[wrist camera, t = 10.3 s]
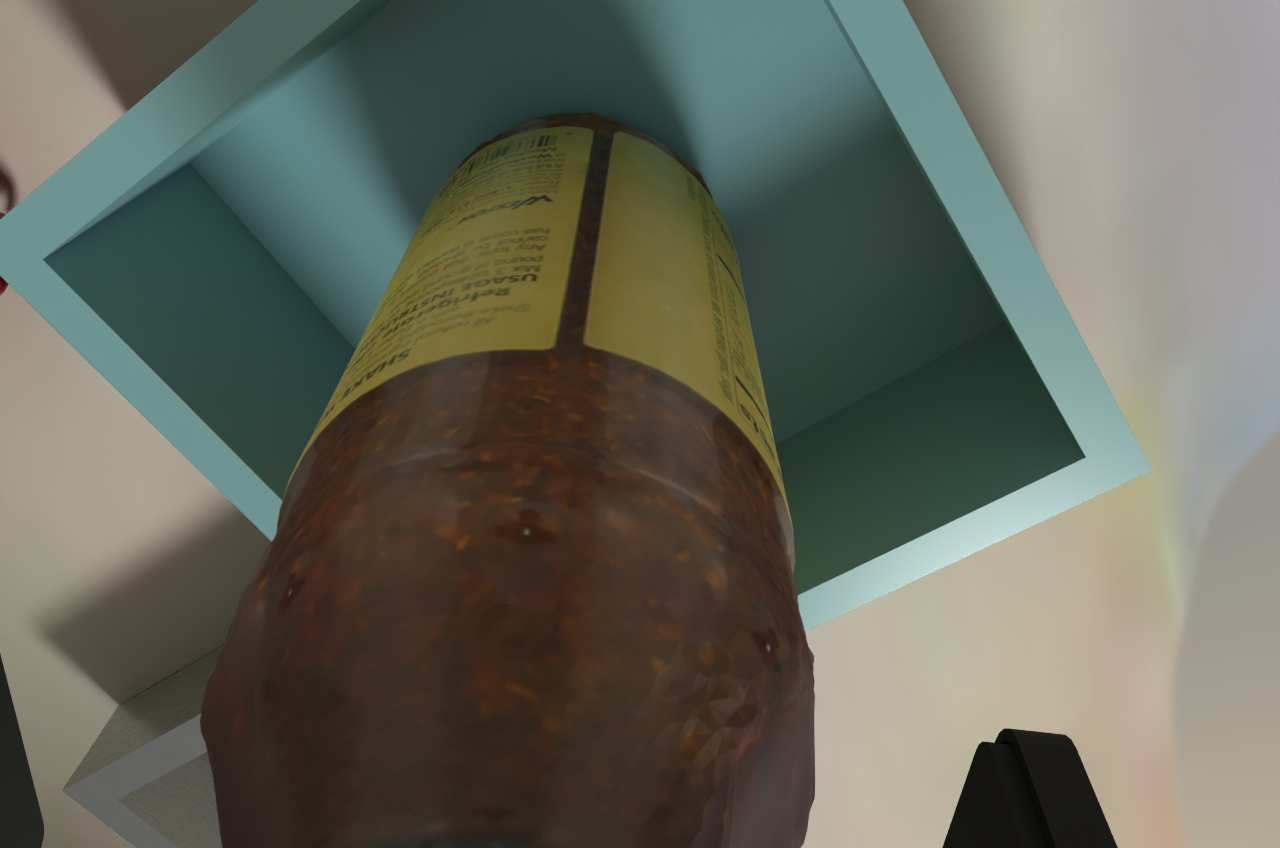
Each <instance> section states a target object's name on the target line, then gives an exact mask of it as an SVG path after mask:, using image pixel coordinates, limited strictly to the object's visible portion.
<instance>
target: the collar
mask: <svg viewBox="0 0 1280 848" xmlns="http://www.w3.org/2000/svg"><path fill="white" fill-rule="evenodd" d="M223 647H224V645H223V646H221V647H220V648H218V649H216V650H215V651H213V652H211V653H209V654H208V655H206V656H204V657H202V658H201V659H199V660H197V661H196V662H194V663H192V664H190V665H189V666H187V667H185V668H183V669H182V670H180V671H178V672H177V673H175V674H173V675H171V676H170V677H168V678H166V679H164V680H163V681H161V682H159V683H158V684H156V685H154V686H152V687H151V688H149V689H147V690H145V691H144V692H142V693H140V694H138V695H137V696H135V697H133V698H132V699H130V700H128V701H126V702H125V703H123V704H121V705H119V706H118V707H117V709H116V710H115V712H114V713H113V715H112V717H111V718H110V720H109V721H108V723H107V724H106V726H105V727H104V729H103V730H102V732H101V733H100V735H99V736H98V738H97V739H96V741H95V742H94V744H93V745H92V747H91V748H90V750H89V751H88V753H87V754H86V756H85V757H84V759H83V760H82V762H81V763H80V765H79V766H78V768H77V769H76V771H75V772H74V774H73V775H72V777H71V778H70V780H69V781H68V783H67V784H66V786H65V787H64V789H63V790H62V791H63V792H65V793H66V794H67V795H69V796H70V797H71V798H73V799H74V800H75V801H76V802H78V803H79V804H80V805H82V806H83V807H84V808H86V809H87V810H88V811H89V812H91V813H92V814H93V815H95V816H96V817H97V818H99V819H100V820H101V821H103V822H104V823H105V824H106V825H108V826H109V827H110V828H112V829H113V830H114V831H116V832H117V833H118V834H119V835H121V836H122V837H123V838H125V839H126V840H127V841H129V842H130V843H131V844H133V845H134V846H135V847H136V848H222V843H221V836H220V829H219V821H218V813H217V805H216V797H215V789H214V781H213V774H212V769H211V765H210V761H209V756H208V752H207V748H206V744H205V741H204V738H203V736H202V734H201V728H200V717H201V714H202V712H201V706H202V701H203V697H204V693H205V689H206V685H207V681H208V680H209V678H210V676H211V675H212V673H213V671H214V670H215V668H216V665H217V662H218V659H219V655H220V653H221V651H222V649H223Z"/></svg>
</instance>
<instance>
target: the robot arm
mask: <svg viewBox="0 0 1280 848" xmlns="http://www.w3.org/2000/svg"><path fill="white" fill-rule="evenodd" d="M43 836H44V824H43V819H42V815H41V811H40V807H39V804H38V800H37V796H36V792H35V788H34V784H33V780H32V776H31V772H30V768H29V764H28V761H27V757H26V753H25V749H24V745H23V741H22V737H21V733H20V729H19V725H18V721H17V718H16V714H15V710H14V706H13V702H12V698H11V694H10V690H9V686H8V682H7V678H6V675H5V671H4V667H3V663H2V659H1V655H0V848H41V846H42V842H43ZM943 848H1118V847H1117V845H1116V843H1115V840H1114V838H1113V835H1112V833H1111V831H1110V828H1109V826H1108V823H1107V821H1106V819H1105V816H1104V814H1103V811H1102V809H1101V807H1100V804H1099V802H1098V799H1097V797H1096V795H1095V792H1094V790H1093V787H1092V785H1091V783H1090V780H1089V778H1088V775H1087V773H1086V771H1085V768H1084V766H1083V763H1082V761H1081V759H1080V756H1079V754H1078V751H1077V749H1076V747H1075V745H1074V744H1073V742H1072V740H1071V739H1070V738H1069V737H1067V736H1066V735H1062V734H1053V733H1044V732H1035V731H1026V730H1017V729H1003V730H1002V731H1001V732H1000V733H999V735H998V737H997V739H996V741H995V743H991V742H981V743H980V744H979V745H978V748H977V750H976V752H975V755H974V758H973V761H972V764H971V767H970V769H969V772H968V775H967V778H966V781H965V784H964V787H963V790H962V793H961V795H960V798H959V801H958V804H957V807H956V810H955V813H954V816H953V819H952V822H951V824H950V827H949V830H948V833H947V836H946V839H945V842H944V845H943Z"/></svg>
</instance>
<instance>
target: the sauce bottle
mask: <svg viewBox="0 0 1280 848" xmlns="http://www.w3.org/2000/svg"><path fill="white" fill-rule="evenodd" d="M794 567H795V553H794V538H793V526H792V521H791V517H790V512H789V508H788V503H787V499H786V494H785V489H784V485H783V480H782V475H781V467H780V464H779V460H778V457H777V452H776V447H775V443H774V438H773V433H772V428H771V423H770V418H769V413H768V408H767V403H766V398H765V393H764V388H763V383H762V378H761V373H760V368H759V363H758V358H757V353H756V349H755V344H754V339H753V334H752V329H751V324H750V319H749V314H748V309H747V304H746V299H745V294H744V289H743V284H742V279H741V273H740V265H739V260H738V256H737V253H736V250H735V246H734V243H733V240H732V237H731V234H730V231H729V229H728V226H727V224H726V222H725V220H724V218H723V216H722V214H721V212H720V211H719V209H718V207H717V206H716V204H715V202H714V200H713V198H712V195H711V193H710V191H709V189H708V187H707V185H706V183H705V181H704V179H703V177H702V175H701V174H700V173H699V171H697V170H696V169H695V168H693V167H691V166H690V165H688V164H687V163H686V162H685V161H683V160H682V159H681V158H680V157H679V156H678V155H677V154H676V153H675V152H674V151H672V150H671V149H670V148H669V147H668V146H667V145H664V144H662V143H660V142H659V141H657V140H655V139H653V138H652V137H649V136H647V135H646V134H644V133H642V132H641V131H639V130H637V129H635V128H632V127H630V126H627V125H623V124H621V123H620V122H618V121H616V120H614V119H610V118H607V117H603V116H600V115H598V114H595V113H573V114H554V115H550V116H547V117H543V118H534V119H532V120H530V121H529V122H527V123H525V124H523V125H521V126H519V127H516V128H514V129H511V130H509V131H507V132H506V133H502V134H499V135H497V136H496V137H495V138H493V139H492V140H489V141H487V142H484V143H482V144H480V145H479V146H478V147H476V149H475V150H474V151H473V152H472V153H471V154H470V155H468V156H467V157H466V158H465V159H464V160H463V162H462V163H461V164H460V165H459V166H458V169H457V171H456V172H454V173H453V174H452V175H451V176H450V178H449V179H448V180H447V181H446V182H445V183H444V185H443V186H442V187H441V188H440V189H439V191H438V192H437V194H436V195H435V196H434V198H433V199H432V201H431V203H430V205H429V206H428V208H427V210H426V212H425V214H424V216H423V218H422V220H421V222H420V224H419V226H418V228H417V230H416V232H415V234H414V236H413V237H412V239H411V241H410V243H409V245H408V247H407V249H406V251H405V253H404V255H403V257H402V259H401V261H400V263H399V265H398V267H397V269H396V271H395V273H394V275H393V277H392V279H391V281H390V283H389V285H388V287H387V289H386V291H385V293H384V295H383V297H382V299H381V301H380V303H379V305H378V307H377V309H376V311H375V313H374V315H373V317H372V319H371V321H370V323H369V325H368V327H367V329H366V331H365V333H364V335H363V337H362V339H361V341H360V342H359V344H358V346H357V348H356V350H355V352H354V354H353V356H352V358H351V360H350V362H349V364H348V366H347V368H346V370H345V372H344V374H343V376H342V378H341V380H340V382H339V384H338V386H337V388H336V390H335V392H334V394H333V395H332V397H331V399H330V401H329V403H328V405H327V407H326V409H325V411H324V413H323V415H322V417H321V419H320V421H319V423H318V425H317V427H316V428H315V430H314V432H313V434H312V436H311V438H310V440H309V442H308V444H307V446H306V448H305V449H304V451H303V453H302V455H301V457H300V459H299V461H298V463H297V465H296V467H295V469H294V471H293V473H292V475H291V477H290V479H289V482H288V485H287V488H286V491H285V494H284V497H283V500H282V504H281V507H280V510H279V515H278V521H277V533H276V535H275V537H274V539H273V541H272V542H271V544H270V546H269V547H268V549H267V550H266V551H265V552H264V555H263V558H262V560H261V561H260V563H259V565H258V567H257V568H256V570H255V572H254V574H253V577H252V579H251V581H250V583H249V584H248V586H247V588H246V589H245V591H244V592H243V594H242V596H241V600H240V603H239V606H238V611H237V614H236V616H235V618H234V620H233V623H232V625H231V627H230V630H229V634H228V637H227V641H226V644H225V645H224V647H223V649H222V651H221V653H220V655H219V659H218V662H217V665H216V668H215V670H214V671H213V673H212V675H211V676H210V678H209V680H208V681H207V685H206V689H205V693H204V697H203V701H202V706H201V712H202V714H201V717H200V728H201V734H202V736H203V738H204V741H205V744H206V748H207V752H208V756H209V761H210V765H211V769H212V774H213V781H214V789H215V797H216V805H217V813H218V821H219V829H220V836H221V843H222V848H801V846H802V845H803V844H804V840H805V836H806V832H807V826H808V819H809V812H810V809H811V806H812V804H813V801H814V796H815V749H814V701H815V694H814V676H813V662H814V656H813V654H812V652H811V650H810V649H809V647H808V643H807V641H806V634H805V630H804V626H803V622H802V618H801V615H800V612H799V605H798V593H797V591H796V589H795V582H794Z"/></svg>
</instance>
